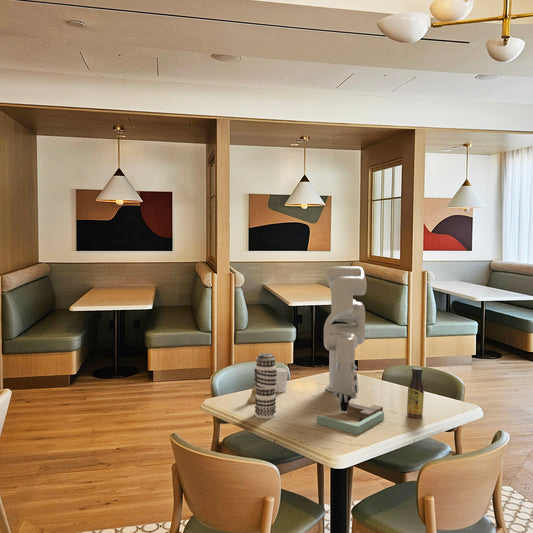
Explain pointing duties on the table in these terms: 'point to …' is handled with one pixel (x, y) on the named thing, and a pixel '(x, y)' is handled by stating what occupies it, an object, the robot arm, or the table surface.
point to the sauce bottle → (415, 394)
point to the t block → (362, 411)
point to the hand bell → (253, 395)
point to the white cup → (281, 380)
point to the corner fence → (349, 426)
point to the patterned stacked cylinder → (265, 386)
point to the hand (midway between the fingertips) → (344, 410)
